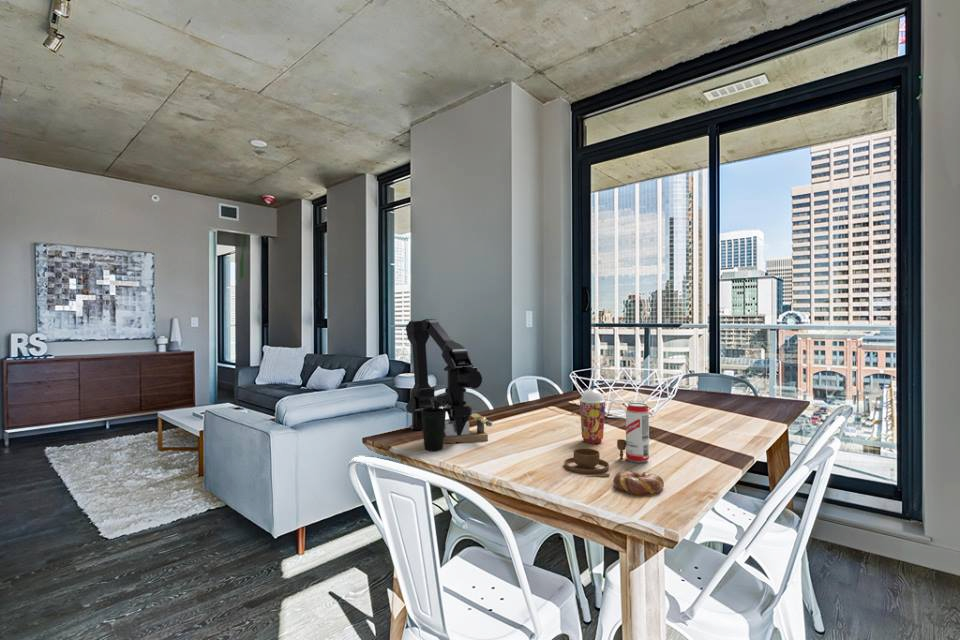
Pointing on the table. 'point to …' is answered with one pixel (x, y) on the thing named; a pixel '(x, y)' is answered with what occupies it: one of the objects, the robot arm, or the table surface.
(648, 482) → the pretzel
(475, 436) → the plane body
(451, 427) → the grey block
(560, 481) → the table surface
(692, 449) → the table surface
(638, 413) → the beer can
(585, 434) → the smoothie
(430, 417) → the cup
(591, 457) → the place setting
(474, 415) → the lever
